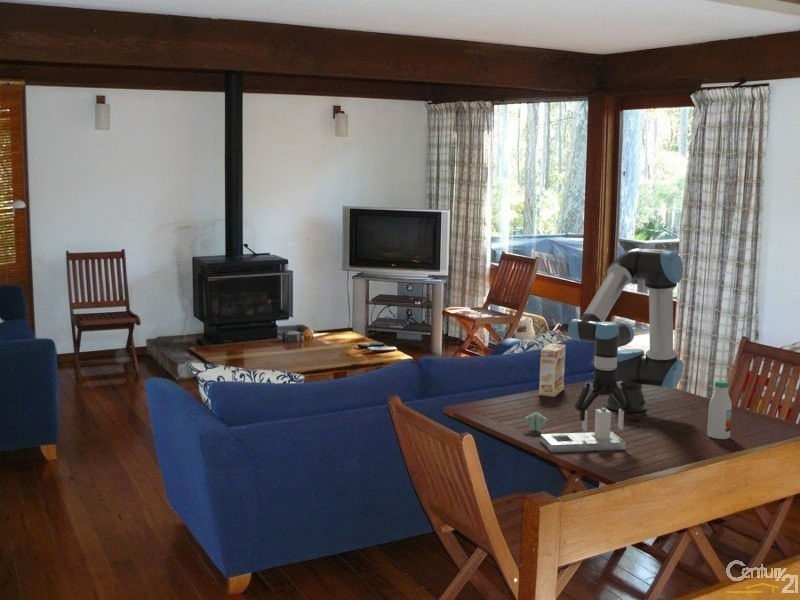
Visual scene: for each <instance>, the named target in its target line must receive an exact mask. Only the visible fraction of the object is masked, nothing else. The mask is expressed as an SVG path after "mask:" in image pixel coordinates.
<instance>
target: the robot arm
mask: <svg viewBox="0 0 800 600" xmlns="http://www.w3.org/2000/svg"><path fill="white" fill-rule="evenodd" d="M683 265H684V264H683V260H682V258H681V256H680V254H679V253H678V252H677V251H675V250H669V249H659V248H658V249H657V248H655V249H654V248H643V247H642V248H641V247H637V248H633V249H629V250H627V251H626V252H623V253H622V254H620V255H619V256H618V257H617V258H616V259H615V260H613V262H612V263H611V264H610V265H609V267H608V269H607V271H606V274H607V276H606V277H605V279H604V280H603V282H602V283H601V286H600V287H599V288H598V290H597V292H596V294H595V295H594V296H593V298H592V300H591V301H590V303H589V305H588V306H587V308H586V310H585V311H584V313H583V314H582V316H581V318H573V319H571V320H570V321H569V323H568V327H567V332H568V337H569V338H570V339H572V340H574V341H579V342H587V343H594V361H593V363H594V364H593V366H594V368H593V381H592V382H588V381H584V382H583V389H582V390H581V393H580V394H579V397H578V399H577V401H576V403H575V405H574V408H575V409H576V410H577V411H579V420H580V421H581V429H582V430H583V431H585V432H588V430H587V429H588V413H589V412H588V411H587V410H588V409H589V408H590V406H591V405H592V403H594V401H595V400H596V398H598V397H599V396H607V397H606V401H605V405H606V406H605V407H606V408H608V410H609V409H610V410H613V411H616V412H618V414H617V415H618V416H617V417H618V418H617V419H618V420H617V428H618V429H619V430H624V420H626V419H627V413H638V412H643V411H645V410H646V404H647V403H646V400H645V397H644V393H643V385H644V386H649V387H656V388H661V389H667V390H669V389H670V390H672V389H674V388H676V387H677V386H678V384H679V383H680V381H681V378H682V376H683V371H684V363H683V360H682V359H680V358H678V352H677V351H676V350H675V349H674V299H673V296H674V289H676V288H677V286H678V283H680V282H681V280H682V279H683V274H684V266H683ZM633 280H642V281H643V280H644V287H645V288H646V289H647V290H648V313H649V314H648V316H649V326H648V327H649V328H648V329H649V349H648V350H647V351H646V352H645V351H644V349H640V348H627V349H626V348H625V349H620V350H619V349H618V348H620V347H621V348H622V347H625V346H626V345H628V344H630V343H631V342H632V341H633V339H634V338H635V330H634V328H633V327H632V325H630V324H629V323H625V322H624V323H622V322H621V323H617V322H613V321H605V320H606V319H607V317H608V316H609V314H610V312H611V311H612V308H613V307H614V305H615V303H616V302H617V300H618V299H619V297H620V296H621V294H622V292H623V291H624V288H625V287H626V286H628V285H629V284H631V283H632V281H633ZM592 387H593V389H592ZM591 389H592V391H591V392H590V390H591ZM589 392H590V394H589ZM587 396H588V397H587Z"/></svg>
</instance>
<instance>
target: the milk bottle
mask: <svg viewBox="0 0 800 600" xmlns="http://www.w3.org/2000/svg"><path fill="white" fill-rule="evenodd" d="M729 386H730V383H729V382H728V381H726V380H716V381H715V382H714V388H715V390H714V392H713V394H712V396H711V398H710V400H709V405H708V415H707V416H708V417H707V426H706V427H707V428H706V429H707V430H706V435H707V436H708V437H709V438H711V439H716V440H727V439H730V437H731V425H732V412H733V411H732V409H733V407H732V406H733V403H732V400H731V397H730V395H729V389H730V388H729Z"/></svg>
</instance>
